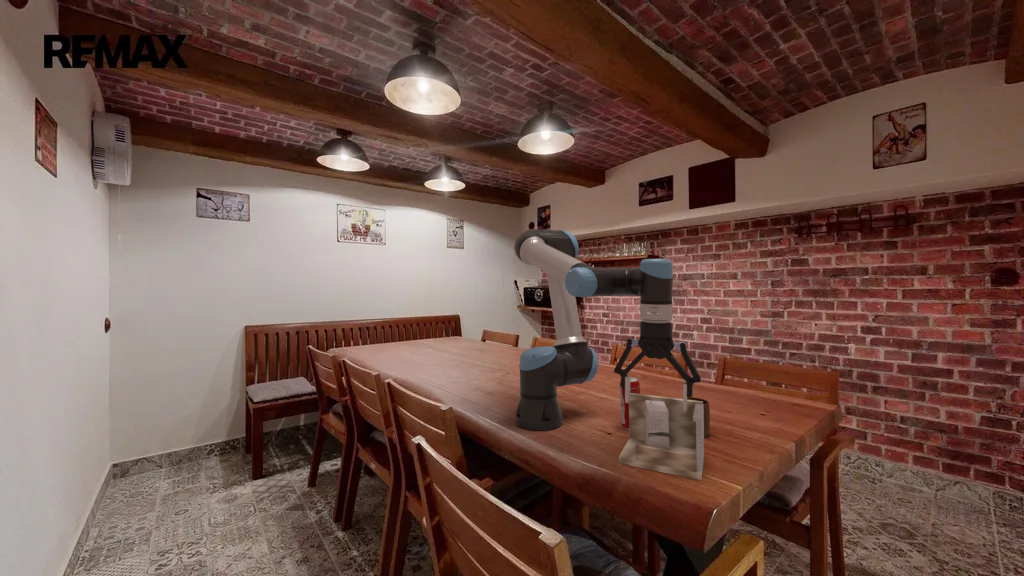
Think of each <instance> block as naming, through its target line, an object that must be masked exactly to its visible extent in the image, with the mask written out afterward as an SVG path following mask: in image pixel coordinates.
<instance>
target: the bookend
mask: <svg viewBox="0 0 1024 576" xmlns="http://www.w3.org/2000/svg"><path fill="white" fill-rule="evenodd" d="M693 421H695V422H696V464H697V471H700V472H702V473H703V471H704V457H705V437H704V407H703V404H700V403H695V409H694V414H693Z"/></svg>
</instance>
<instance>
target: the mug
mask: <svg viewBox="0 0 1024 576" xmlns="http://www.w3.org/2000/svg"><path fill="white" fill-rule="evenodd" d="M681 399H683V397H682V398H681ZM687 400H695V401H703V407H704V438H706V437H709V436H710V434H711V433H710V432H711V416H710V415H711V411H710V410H711V408H710V402H709V400H707V399H703V398H701V397H700V398H699V397H694V396H693V395H692V397H687Z"/></svg>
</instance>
